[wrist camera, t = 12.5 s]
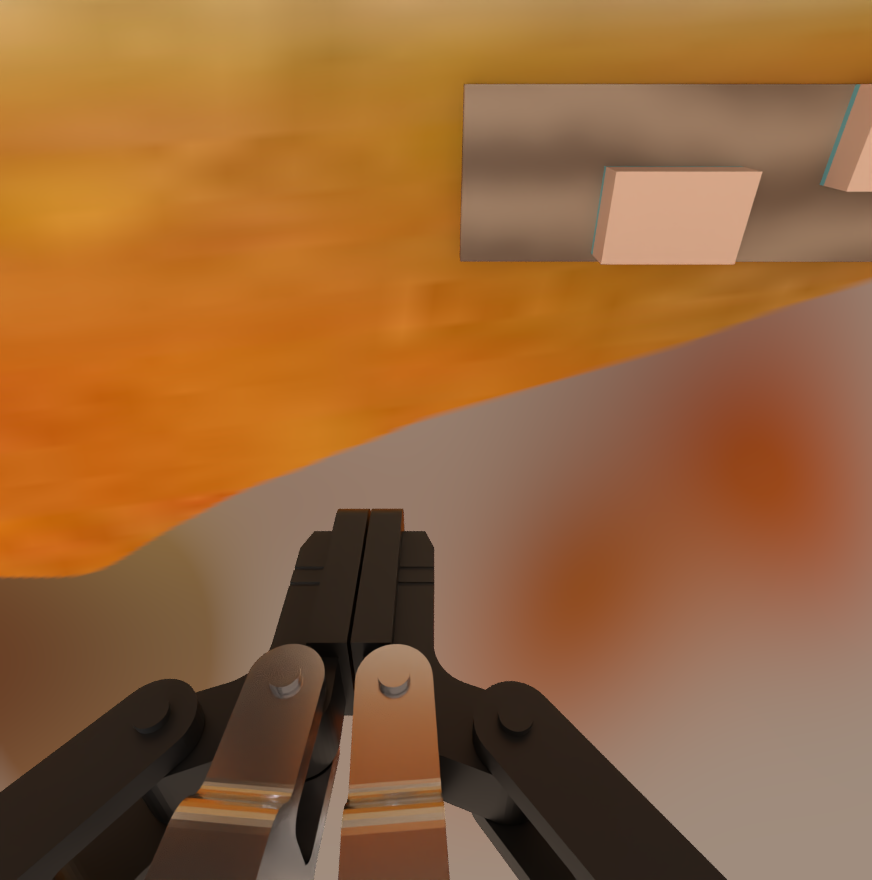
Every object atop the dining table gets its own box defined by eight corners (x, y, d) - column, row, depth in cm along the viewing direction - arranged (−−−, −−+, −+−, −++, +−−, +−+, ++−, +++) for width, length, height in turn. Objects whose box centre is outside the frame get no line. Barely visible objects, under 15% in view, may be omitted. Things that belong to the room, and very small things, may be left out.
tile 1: (616, 171, 29) (762, 171, 29) (604, 166, 31) (740, 166, 31) (600, 264, 32) (734, 264, 32) (590, 253, 34) (716, 253, 34)
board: (463, 84, 30) (464, 84, 29) (960, 84, 30) (978, 84, 29) (459, 256, 35) (460, 261, 34) (882, 256, 35) (895, 261, 34)
